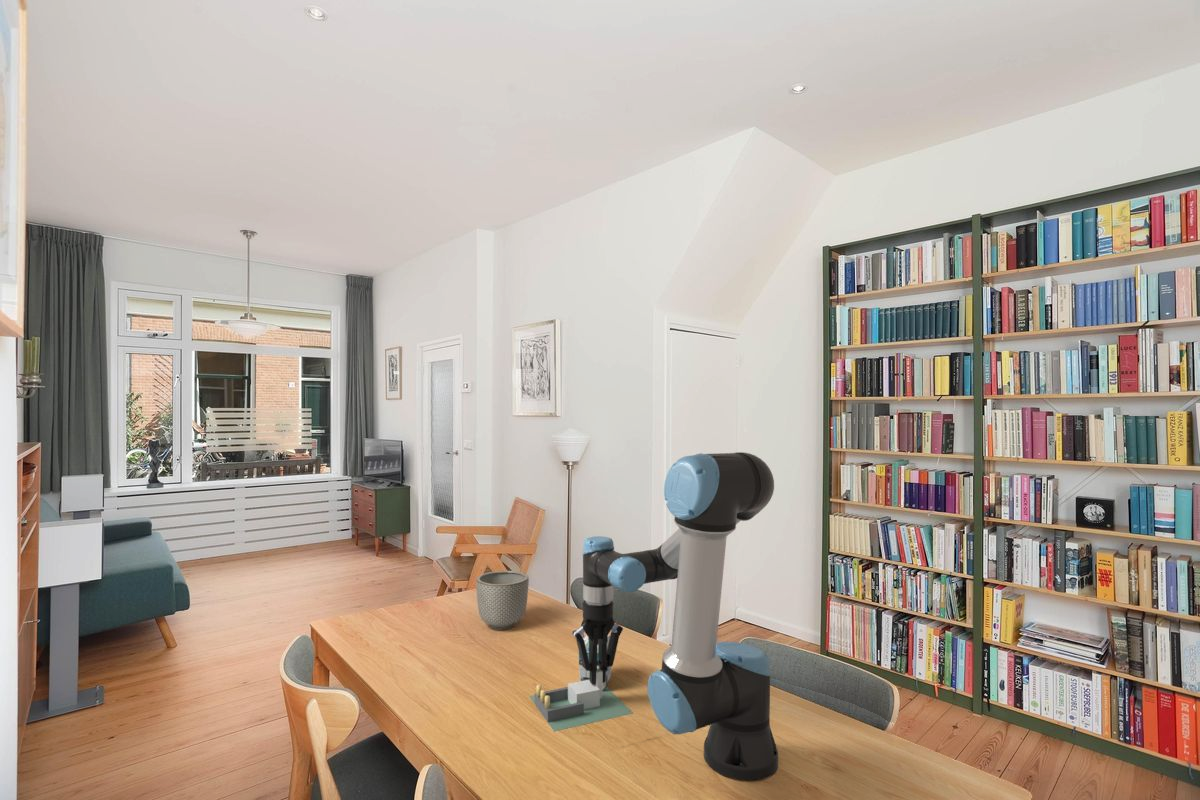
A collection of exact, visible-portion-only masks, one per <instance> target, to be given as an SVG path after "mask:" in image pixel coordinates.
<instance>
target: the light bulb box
mask: <svg viewBox="0 0 1200 800" xmlns="http://www.w3.org/2000/svg"><path fill="white" fill-rule="evenodd" d="M583 639H584V642H585V646H586V650H587V655H588V659H589V640H588V636H587V634H586V635H584V638H583ZM609 639H610V634H608V642H607V648H608V644H609ZM597 667H599V666H598V644H597ZM578 671H579V672H578V675H579V681H585V680H590V671H587V670H586V669H585V668H584V667H583V666H582V662H581V658H580V654H579V653H578ZM611 677H612V666H611V667H610V666H609V667H608V670H607V671H606V681H605V682H604V683H603V689H604V688H605V686H607V685H608V682H609V681H610V679H611Z"/></svg>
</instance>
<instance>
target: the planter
mask: <svg viewBox="0 0 1200 800" xmlns="http://www.w3.org/2000/svg"><path fill="white" fill-rule="evenodd" d="M529 583H530V582H529V576H528V574H526V573H524V572H521V571H517V570H494V571H489V572H488V571H487V572H484V573H482V574H480V575H478V576H477V577H476V583H475V585H476V599H477V610H478V614H479V616H480V619H481V620H482V621H483V622H484V623H486V624H487V625H488V627H489V628H490V629H492V630H496V631H505V630H507V631H508V630H510V629H512V628H515V626H516V624H517V623H519V621H521V620H522V619H523V617H525V613H526V611H527V604H528V603H527V602H528V597H529V596H528V595H529V585H530V584H529Z"/></svg>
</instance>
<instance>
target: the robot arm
mask: <svg viewBox="0 0 1200 800" xmlns="http://www.w3.org/2000/svg"><path fill="white" fill-rule="evenodd" d="M774 490H775V479H774V475H773V473H772V471H771V469H770V467H769V466H768V464H767V462H765V461H764V460H763V459H762V458H760V457H758V456H757V455H755V454H752V453H748V452H741V451H740V452H739V451H738V452H729V453H728V452H727V453H726V452H724V453H721V452H720V453H700V452H699V453H696V454H693V455H687V456H686V455H685V456H683V457H681V458H678V459H677V460H676V462H674V463H673V464H672V465H671V466H670V468H669V470H668V472H667V473H666V476H665V480H664V486H663V497H664V500H665V501H666V507H667V510H668V511H669V513H671V514H672V516H674V524H675V525H676V526H677V527H678V529H677V530H676V531H675V532H673V534H671V536H669V537H668V538H667V539H666V540H665V541H664V542H663V543H661V545H660V546H659V547H657V548H654V549H649V550H643V551H634V552H633V551H632V552H629V553H620V552H618V551H616V550H615V545H614V544H615V543H614V541H613V539H612V538H611V537H607V536H602V535H601V536H599V535H598V536H596V535H595V536H590V537H587V538H586V539H584V541H583V552H582V580H583V581H582V599H583V602H582V621H581V624H580V626H581V627H580V628H579V629H577V630H575V629H574V630H573V631H572V633H571V634H572V635H573V638H575V640H576V645H577V648H578V649H577V650H578V655H579V654H580V658H581V662H582V666H583V667H584V668H585V669H586V670H587V671H590V683H591V684H592V685H596V686H597V687H598V688H599V689H600V698H602V693H603V683H604V682H605V681H606V671H607V670H608V667H609V666H610V667H611V668H612V667H613V665H614V661H615V657H616V653H617V647H618V643H619V638H620V635H621V634H622V632H623V630H624V628H623V627H622V626H621V625H620V624H619V623H616V622H615V619H614V602H613V600H614V589H616V590H620V591H623V592H627V593H633V592H637V591H638V590H639V589H640V588H641V587H643V585H645V584H650V583H656V582H663V581H667V580H676V589H675V590H676V591H675V603H674V612H673V613H674V614H673V623H672V633H671V634H672V636H671V645H670V646H669V647H668V648H666V649H664V651H663V652H662V659H661V660H662V661H661V662H662V663H661V669H660V670H658V669H657V670H655V671H654V672H652V674H650V675H649V677H648V680H647V681H648V682H647V695H648V699H649V703H650V706H651V708H652V711H653V713H654V715H655V717H656V718H657V720H658V722H659V723H660V724H661V725H662V727H663V728H665V730H667V731H668V732H669V733H671V734H674V735H682V734H687V733H694V732H695V731H696V730H697V731H698V730H699V729H701V728H705V727H708V726H709V727H708V728H709V729H708V732H707V735H706V737H705V740H704V743H703V758H704V761H705V763H706V764H707V765H708V767H709V768H711V770H712V771H714V772H715V773H718V774H719V775H721V776H723V777H726V778H728V779H729V778H730V779H731V780H732V779H734V780H737V781H746V782H749V781H750V782H752V781H753V782H755V781H761V780H765V779H768V778H770V777H771V776H773V775H774V774H775V773H777V771H778V769H779V752H778V751H779V750H778V747H777V744H776V740H775V739H774V735H773V733H772V729H771V725H770V724H771V722H770V715H771V711H770V709H771V706H770V704H771V675H772V673H771V669H770V658H769V657H768V655H767V654H766V653H765V652H764V651H763V650H761V649H760V648H758V647H755V646H753V645H751V644H746V643H743V642H737V641H719V642H717V640H718V631H719V621H720V610H721V600H722V590H723V589H722V587H723V581H724V580H723V578H724V568H725V567H724V566H725V559H726V558H725V557H726V548H727V546H726V545H727V539H728V538H727V537H728V536H729V535H730V534H733V532H734V531H735V530H736V528H737V527H736V526H737V525H738V524H739V523H740V522H744V521H750V520H752V519H753V518H754V517H755V516H756V515H758V514H759V513H760V512H761V511H763V509H765V507H766V506H767V505H768V504H770V503H769V502H770V501H771V499H772V497H773V495H774ZM585 634H586V635H587V636H588V640H589V659H588V655H587V650H586V646H585V642H584V638H585ZM608 635H610V639H609V644H608V648H607V642H608ZM597 644H598V666H599V667H597Z"/></svg>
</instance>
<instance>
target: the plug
mask: <svg viewBox="0 0 1200 800" xmlns="http://www.w3.org/2000/svg"><path fill="white" fill-rule="evenodd" d="M567 687H568V701H569V702H570V703H571V704H574V703H579V702H583V703H584V709H589V708H594V707H599V706H600V689H599V688H598V687H597V686H596V685H592V684H591V683H590V680H585V681H580V680H579V681H574V682H569V683H567Z"/></svg>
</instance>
